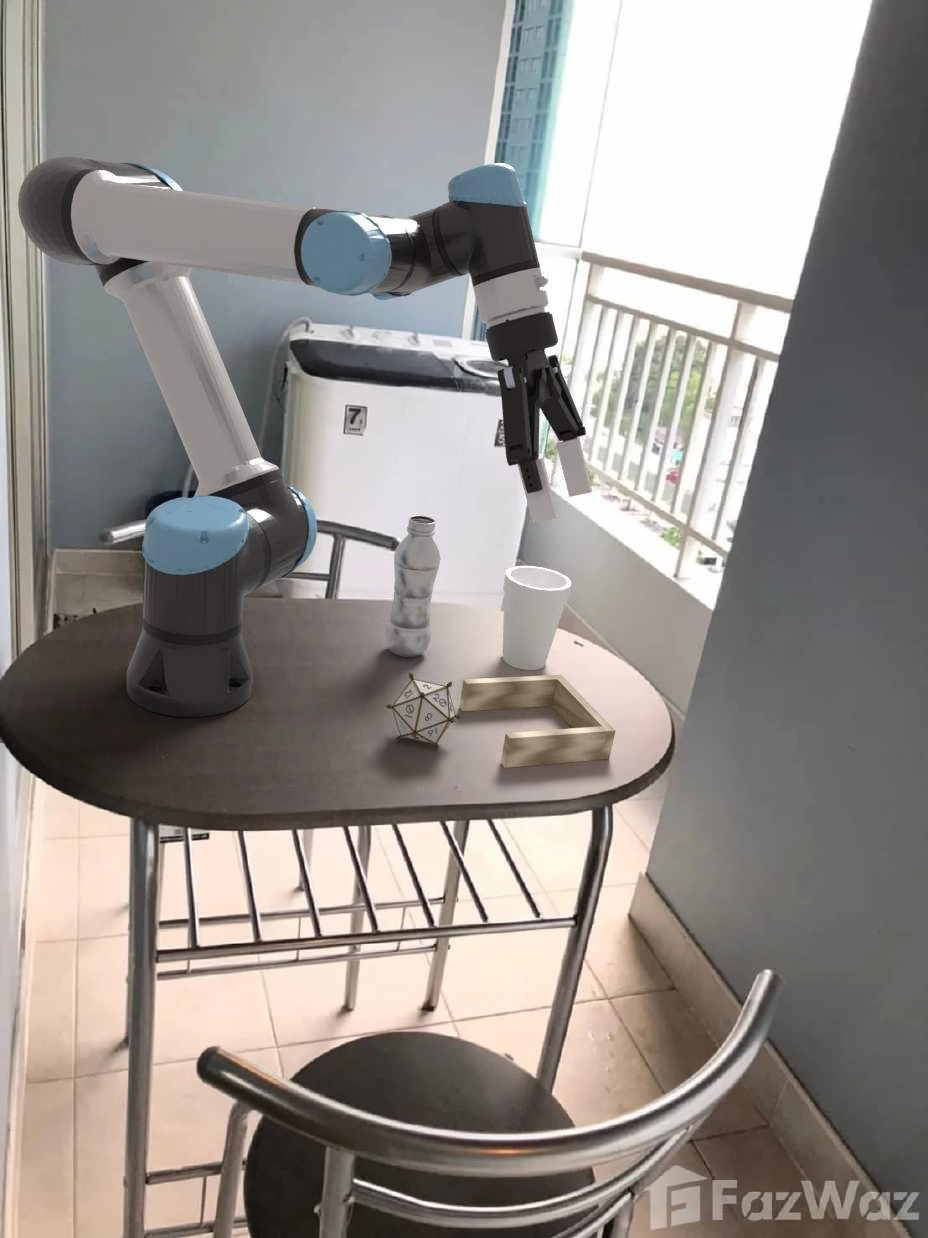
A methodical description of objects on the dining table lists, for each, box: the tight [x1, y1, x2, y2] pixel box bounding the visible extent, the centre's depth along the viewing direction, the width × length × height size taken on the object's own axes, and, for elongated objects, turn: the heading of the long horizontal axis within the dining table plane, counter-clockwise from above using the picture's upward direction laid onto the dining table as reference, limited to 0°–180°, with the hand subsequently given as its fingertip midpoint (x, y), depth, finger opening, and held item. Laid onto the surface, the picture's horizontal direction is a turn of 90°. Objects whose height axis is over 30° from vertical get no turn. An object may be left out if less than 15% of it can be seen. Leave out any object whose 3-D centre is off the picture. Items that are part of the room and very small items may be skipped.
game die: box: [385, 672, 462, 751], centre depth 120 cm, size 9×8×10 cm
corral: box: [459, 674, 616, 769], centre depth 127 cm, size 14×15×4 cm
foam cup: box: [502, 565, 572, 671], centre depth 145 cm, size 10×9×13 cm
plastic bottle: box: [384, 514, 441, 658], centre depth 140 cm, size 6×7×20 cm
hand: (564, 506), depth 114 cm, fingers open, 13 cm apart
